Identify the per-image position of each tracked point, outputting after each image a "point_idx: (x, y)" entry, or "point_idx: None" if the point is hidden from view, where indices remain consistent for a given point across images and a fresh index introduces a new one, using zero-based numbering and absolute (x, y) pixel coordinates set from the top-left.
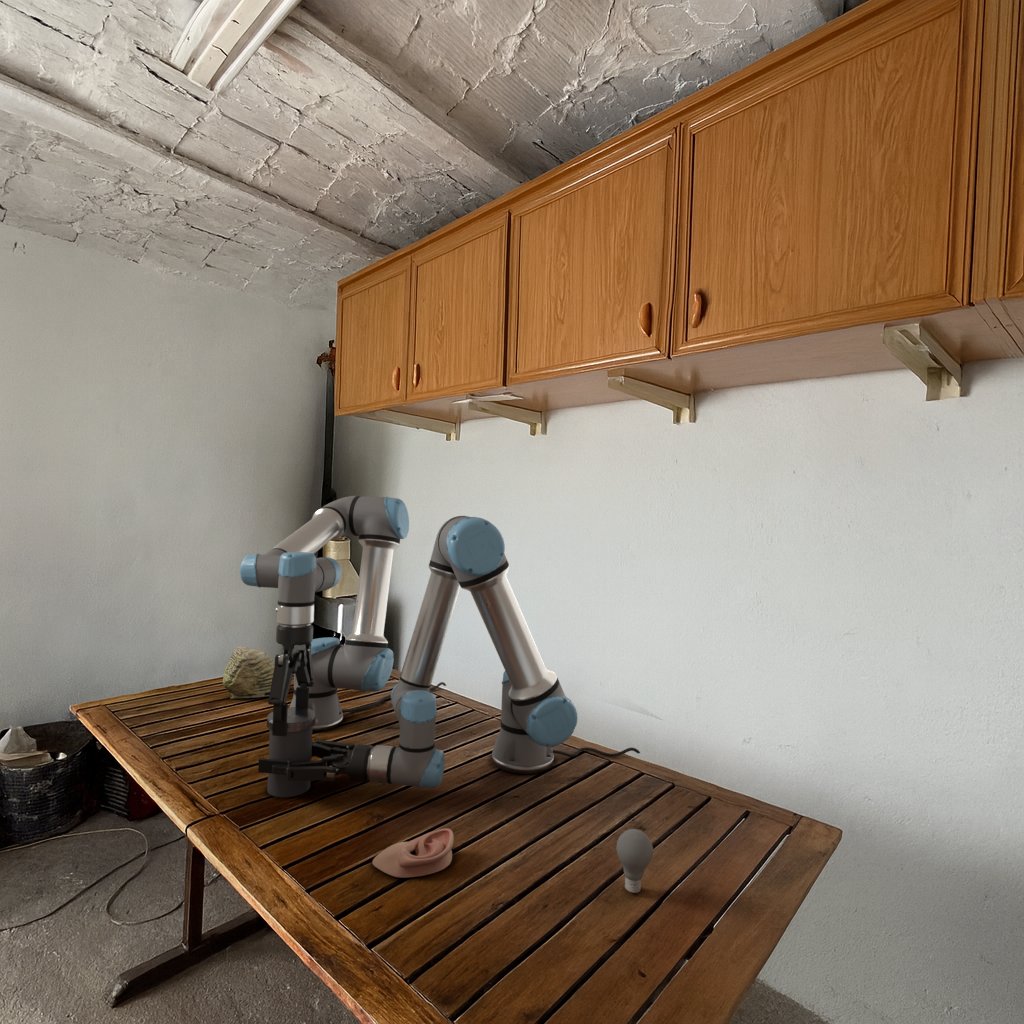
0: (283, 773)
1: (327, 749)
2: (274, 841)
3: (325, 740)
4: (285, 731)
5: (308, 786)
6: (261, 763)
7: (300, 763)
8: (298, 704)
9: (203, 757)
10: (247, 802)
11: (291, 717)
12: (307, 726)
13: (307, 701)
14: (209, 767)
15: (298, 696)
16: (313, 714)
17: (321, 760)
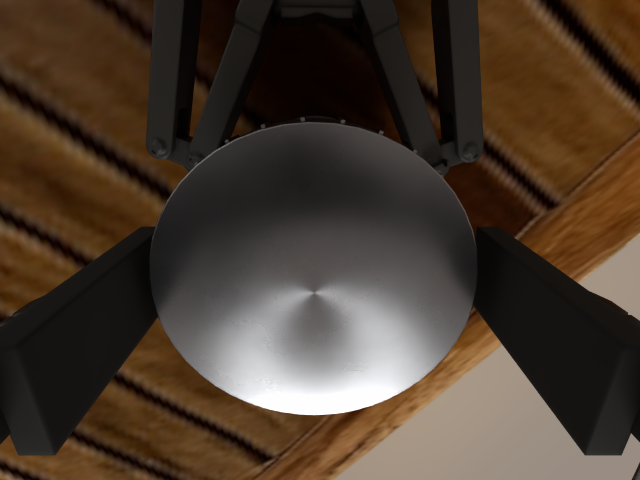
0: None
1: (252, 55)
2: (629, 89)
3: (149, 109)
4: (506, 236)
5: (319, 116)
6: None
7: (424, 124)
8: (133, 323)
9: (193, 444)
10: None
11: (368, 275)
12: (388, 137)
13: (102, 273)
14: (240, 411)
15: (101, 367)
16: (273, 142)
17: (386, 34)
